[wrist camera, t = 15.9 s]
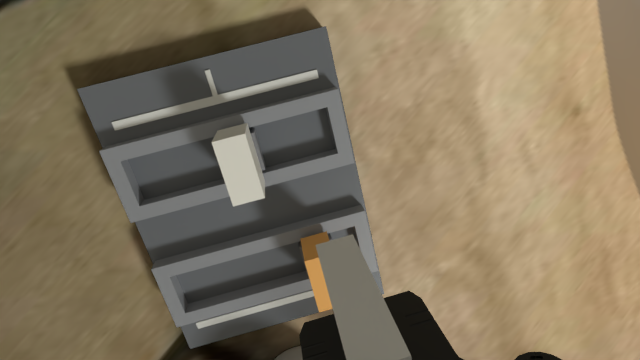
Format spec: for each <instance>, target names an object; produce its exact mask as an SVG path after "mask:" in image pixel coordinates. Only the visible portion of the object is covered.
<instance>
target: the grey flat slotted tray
mask: <svg viewBox="0 0 640 360" xmlns="http://www.w3.org/2000/svg"><path fill="white" fill-rule="evenodd" d="M77 90H78V93H79V95H80V97H81V100H82V102H83V104H84V106H85V109H86V111H87V113H88V116H89V118H90V120H91V123H92V125H93V127H94V129H95V132H96V134H97V136H98V139H99V141H100V143H101V145H102V148H103V149H101V150H100V151H99V152H100V154H101V157H102V159H103V161H104V163H105V166H106V168H107V170H108V173H109V175H110V177H111V179H112V182H113V184H114V186H115V188H116V191H117V193H118V195H119V197H120V200H121V202H122V204H123V207H124V209H125V211H126V213H127V216H128V218H129V220H130V222H131V223H133V222H135V223H136V226H137V228H138V230H139V233H140V235H141V237H142V239H143V242H144V244H145V246H146V249H147V251H148V253H149V255H150V258H151V260H152V262H153V267H152V269H151V270H152V272H153V275H154V277H155V279H156V281H157V284H158V286H159V288H160V291H161V293H162V295H163V297H164V300H165V302H166V304H167V306H168V309H169V311H170V313H171V316H172V318H173V320H174V322H175V325H176V327H181V329H182V331H183V333H184V336H185V338H186V340H187V343H188V345H189V347H190V349H191V348H195V347H198V346H202V345H205V344H209V343H212V342H216V341H220V340H223V339H227V338H230V337H234V336H237V335H241V334H244V333H248V332H251V331H255V330H258V329H262V328H265V327H269V326H272V325H276V324H279V323H283V322H287V321H290V320H294V319H297V318H301V317H304V316H308V315H311V314H315V313H318V312H319V310H318V307H317V303H316V300H315V296H314V293H313V289H312V286H311V283H310V279H309V278H308V276H307V273H306V269H305V266H304V262H303V259H302V255H301V252H300V248H299V241H301V240H300V239H301V238H304V237H308V236H311V235H315V234H319V233H322V232H326V231H327V234H328V233H330V235H331V237H332V240H335V239H338V238H342V237H345V236H349V235H352V234H353V236H354V238H355V240H356V242H357V244H358V246H359V248H360V250H361V252H362V255H363V257H364V259H365V261H366V263H367V265H368V267H369V269H370V271H371V273H372V275H373V277H374V280H375V282H376V284H377V286H378V288H379V290H380V292H381V294H384V291H383V287H382V282H381V277H380V273H379V268H378V264H377V259H376V254H375V250H374V245H373V241H372V236H371V231H370V227H369V222H368V218H367V213H366V208H365V204H364V199H363V195H362V190H361V185H360V181H359V176H358V171H357V167H356V162H355V158H354V153H353V148H352V144H351V139H350V135H349V130H348V125H347V121H346V116H345V112H344V107H343V102H342V98H341V93H340V89H339V84H338V79H337V75H336V70H335V66H334V61H333V56H332V52H331V47H330V42H329V38H328V33H327V29H326V26H325V27H321V28H317V29H313V30H309V31H305V32H301V33H297V34H293V35H289V36H285V37H281V38H278V39H274V40H270V41H266V42H262V43H258V44H254V45H250V46H246V47H242V48H238V49H234V50H230V51H226V52H222V53H218V54H214V55H210V56H206V57H202V58H198V59H194V60H190V61H186V62H183V63H179V64H175V65H171V66H167V67H163V68H159V69H155V70H151V71H147V72H143V73H139V74H135V75H131V76H127V77H123V78H119V79H115V80H111V81H107V82H103V83H99V84H95V85H91V86H88V87H84V88H80V89H77ZM245 123H248V127H249V130H250V129H254V128H255V131H256V134H257V137H258V141H259V144H260V147H261V151H262V154H263V158H264V161H265V170H263V171H262V173H263V176H264V180H265V198H263V199H260V200H256V201H252V202H249V203H245V204H241V205H237V206H234V207H233V205H232V202H231V199H230V196H229V193H228V190H227V187H226V184H225V181H224V178H223V175H222V172H221V169H220V166H219V163H218V160H217V157H216V154H215V152H214V149H213V146H212V143H211V142H212V140H213V138H214V136H215V135H216V133H217V131H218V130H222V129H226V128H229V127H233V126H237V125H241V124H245Z"/></svg>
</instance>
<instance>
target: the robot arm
mask: <svg viewBox="0 0 640 360" xmlns="http://www.w3.org/2000/svg"><path fill="white" fill-rule="evenodd" d="M316 249H317V253H318V256H319V260H320V264H321V267H322V271H323V275H324V279H325V282H326V286H327V290H328V293H329V297H330V301H331V305H332V308H333V312H334V314H332V315H329V316H326V317H322V318H319V319H315V320H312V321H309V322H305V323H304V325H303V328H302V330H301V333H300V335H299V336H300V343H301V349H302V350H301V351H302V358H303V360H463V359H461V358H459V357H458V355H457V354H456V353H455V351H454V350H453V348H452V347H451V345H450V343H449V342H448V340H447V339H446V337H445V335H444V334H443V332H442V331H441V329H440V327H439V326H438V324H437V323H436V321H435V320H434V318H433V316H432V315H431V313H430V312H429V311H428V308H427V307H426V305H425V304H424V302H423V300H422V299H421V298H420V297H418V296H417V295H415V294H414V293H412V292H410V291H407V292H403V293H400V294H396V295H393V296H390V297H386V298H383V296H382V294H381V292H380V290H379V288H378V286H377V284H376V282H375V280H374V277H373V275H372V273H371V271H370V269H369V267H368V265H367V263H366V261H365V259H364V257H363V255H362V252H361V250H360V248H359V246H358V244H357V242H356V240H355V238H354V236H353V234H352V235H349V236H345V237H342V238H338V239H335V240H331V241H328V242H324V243H321V244H317V245H316ZM515 360H561V359H559V358H558V357H556V356H554V355H551V354H547V353H543V352H528V353H525V354H522V355H519V356H518V357H517V358H516V359H515Z"/></svg>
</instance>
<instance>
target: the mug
mask: <svg viewBox="0 0 640 360" xmlns="http://www.w3.org/2000/svg"><path fill="white" fill-rule="evenodd" d="M301 350H302V349H301V346H298V347H294V348H291V349H288V350H286V351H284V352H283V353H281V354H280V355H279V356H277V357H276V358H275V359H274V360H303V358H302V351H301Z"/></svg>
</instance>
